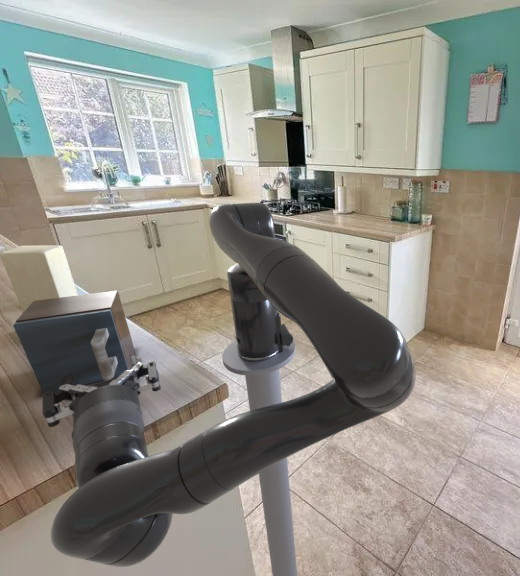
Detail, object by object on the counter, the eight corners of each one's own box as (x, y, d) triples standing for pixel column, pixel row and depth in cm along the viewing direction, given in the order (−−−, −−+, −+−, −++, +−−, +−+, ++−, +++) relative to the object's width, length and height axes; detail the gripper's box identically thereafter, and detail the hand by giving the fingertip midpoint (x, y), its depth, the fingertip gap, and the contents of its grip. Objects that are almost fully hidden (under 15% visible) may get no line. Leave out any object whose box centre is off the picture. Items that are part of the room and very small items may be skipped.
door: (126, 391, 62) (104, 324, 57) (32, 414, 56) (-3, 341, 50) (130, 371, 68) (110, 308, 62) (45, 390, 62) (15, 322, 56)
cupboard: (130, 371, 68) (110, 307, 62) (45, 390, 62) (15, 321, 56) (134, 349, 75) (117, 290, 69) (59, 364, 69) (33, 300, 63)
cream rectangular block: (90, 321, 85) (64, 243, 77) (73, 336, 79) (43, 252, 71) (53, 324, 83) (22, 244, 75) (33, 339, 77) (-3, 253, 69)
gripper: (48, 471, 43) (55, 401, 54) (173, 421, 52) (156, 370, 63) (27, 428, 40) (39, 364, 51) (163, 383, 49) (147, 337, 60)
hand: (104, 367), depth 57 cm, fingers open, 8 cm apart
